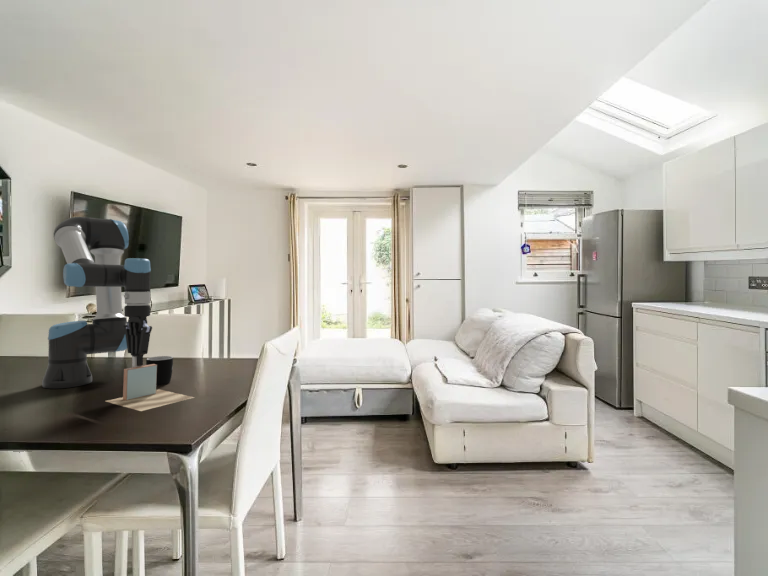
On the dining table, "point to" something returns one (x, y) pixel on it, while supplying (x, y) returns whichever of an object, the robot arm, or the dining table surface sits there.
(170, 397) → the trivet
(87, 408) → the dining table surface
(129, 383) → the tile
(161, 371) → the mug
